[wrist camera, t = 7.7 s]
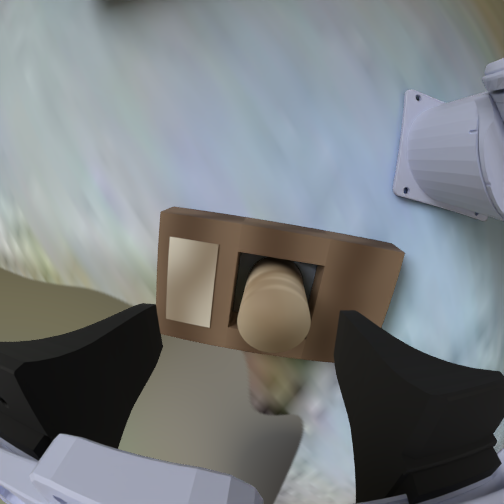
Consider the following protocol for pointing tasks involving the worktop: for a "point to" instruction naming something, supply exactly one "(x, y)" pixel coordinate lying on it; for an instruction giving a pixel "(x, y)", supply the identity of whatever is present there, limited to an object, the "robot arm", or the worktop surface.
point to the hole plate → (272, 245)
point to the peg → (274, 306)
